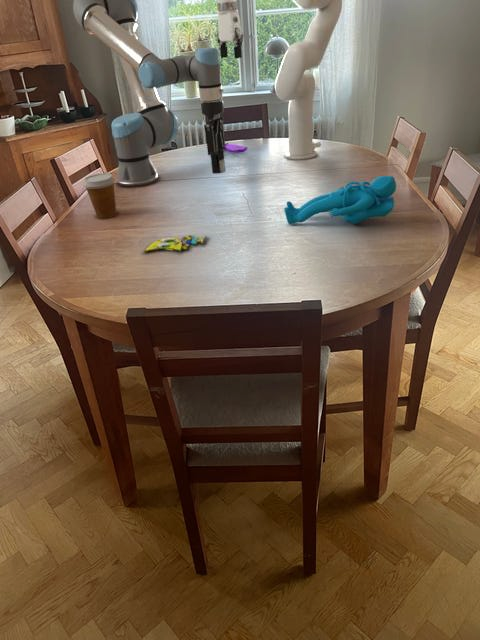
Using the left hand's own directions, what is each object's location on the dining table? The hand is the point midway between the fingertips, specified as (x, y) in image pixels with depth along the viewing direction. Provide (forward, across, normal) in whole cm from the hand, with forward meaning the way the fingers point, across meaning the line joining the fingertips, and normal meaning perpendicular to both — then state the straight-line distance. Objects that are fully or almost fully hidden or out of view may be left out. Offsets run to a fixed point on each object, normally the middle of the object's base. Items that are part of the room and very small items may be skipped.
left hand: (219, 170), depth 173 cm
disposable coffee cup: (+4, -35, +27) cm, 45 cm away
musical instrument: (+4, +44, +14) cm, 46 cm away
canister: (0, 0, 0) cm, 0 cm away
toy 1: (+4, -55, -6) cm, 55 cm away
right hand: (-32, +49, +8) cm, 59 cm away
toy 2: (+4, -34, -46) cm, 58 cm away
